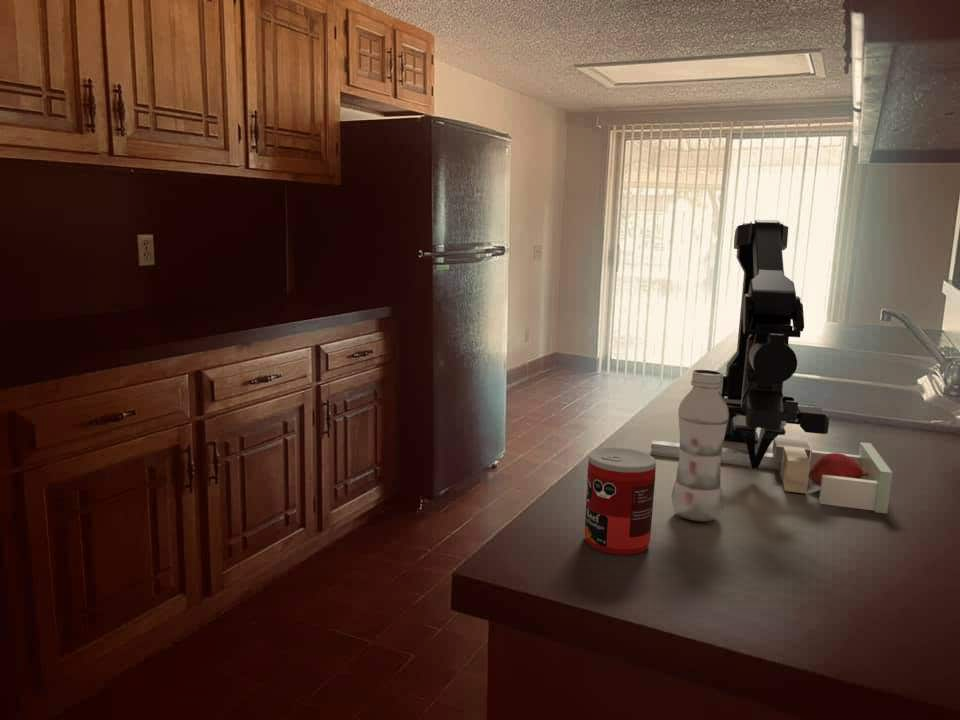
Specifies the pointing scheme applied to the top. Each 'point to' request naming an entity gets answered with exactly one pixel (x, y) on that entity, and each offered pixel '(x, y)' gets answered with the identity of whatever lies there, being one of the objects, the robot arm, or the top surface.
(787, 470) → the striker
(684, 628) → the top surface
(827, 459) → the red round solid
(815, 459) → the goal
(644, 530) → the canned food
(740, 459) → the rail
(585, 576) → the top surface
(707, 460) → the plastic bottle
